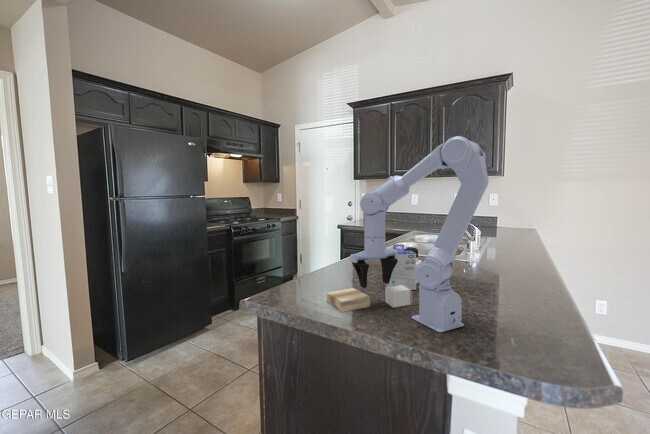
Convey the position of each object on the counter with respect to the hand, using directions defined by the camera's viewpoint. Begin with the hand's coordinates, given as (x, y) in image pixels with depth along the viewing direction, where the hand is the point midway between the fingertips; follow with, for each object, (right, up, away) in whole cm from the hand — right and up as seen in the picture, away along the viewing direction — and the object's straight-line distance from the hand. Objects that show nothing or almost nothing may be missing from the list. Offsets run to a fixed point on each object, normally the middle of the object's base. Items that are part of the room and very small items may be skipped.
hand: (374, 284), depth 85 cm
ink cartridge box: (+11, -5, +17) cm, 21 cm away
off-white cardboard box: (+4, -4, +1) cm, 6 cm away
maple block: (-7, -6, +2) cm, 10 cm away
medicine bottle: (+17, -4, +25) cm, 30 cm away
